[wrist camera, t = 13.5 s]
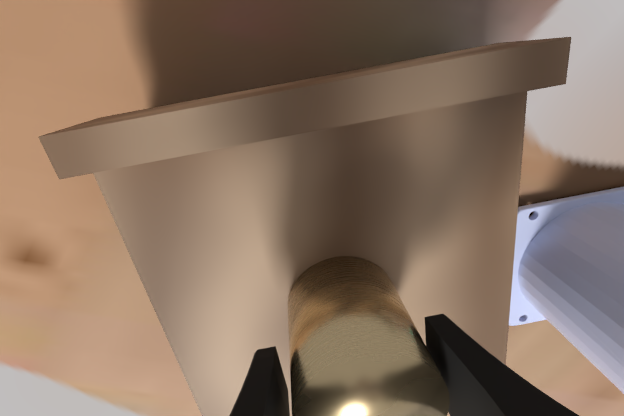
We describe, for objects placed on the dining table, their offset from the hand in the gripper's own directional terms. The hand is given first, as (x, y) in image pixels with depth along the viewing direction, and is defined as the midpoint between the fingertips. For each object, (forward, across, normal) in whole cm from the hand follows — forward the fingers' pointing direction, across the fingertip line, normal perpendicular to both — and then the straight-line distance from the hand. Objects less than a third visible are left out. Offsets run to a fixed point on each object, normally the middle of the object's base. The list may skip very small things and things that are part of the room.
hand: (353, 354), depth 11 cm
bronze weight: (+3, 0, 0) cm, 3 cm away
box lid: (+5, 0, 0) cm, 5 cm away
